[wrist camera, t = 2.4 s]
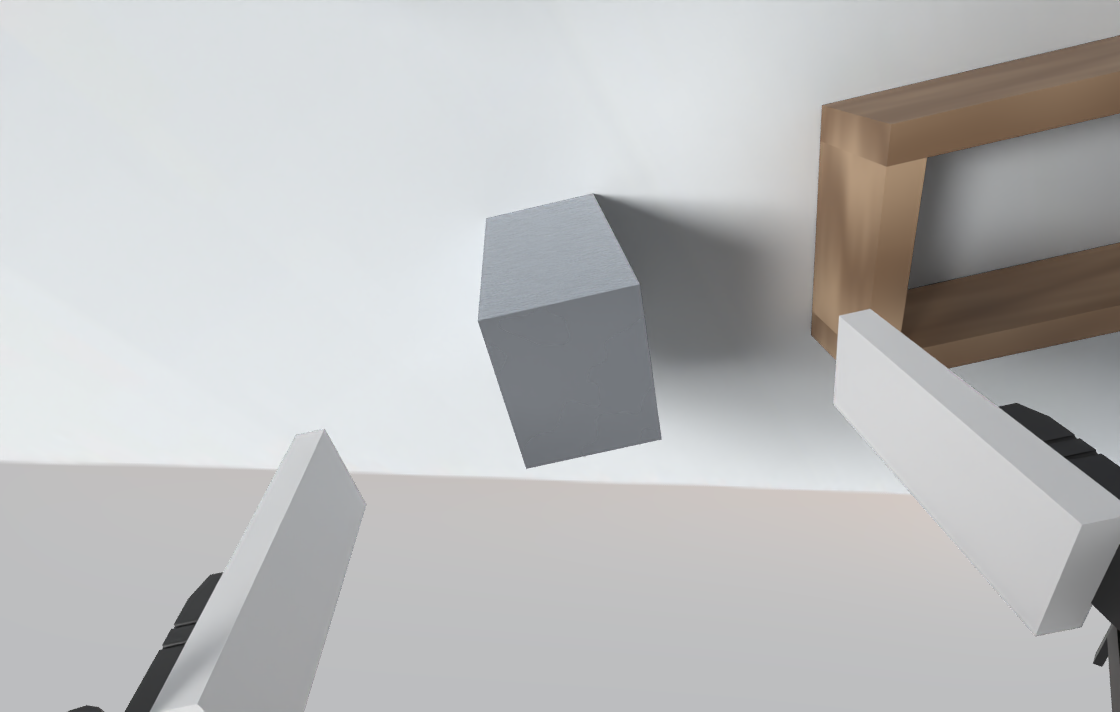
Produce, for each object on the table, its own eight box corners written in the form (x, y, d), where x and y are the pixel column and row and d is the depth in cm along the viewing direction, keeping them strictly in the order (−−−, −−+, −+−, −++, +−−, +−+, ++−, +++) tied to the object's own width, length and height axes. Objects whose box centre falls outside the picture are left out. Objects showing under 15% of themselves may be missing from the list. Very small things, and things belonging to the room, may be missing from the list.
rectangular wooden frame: (822, 105, 19) (891, 124, 16) (1397, -31, 18) (1600, -41, 15) (811, 334, 24) (862, 387, 21) (1263, 235, 23) (1393, 271, 20)
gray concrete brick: (486, 218, 20) (478, 320, 13) (593, 193, 20) (639, 284, 13) (519, 334, 23) (526, 468, 16) (613, 312, 23) (661, 439, 16)
